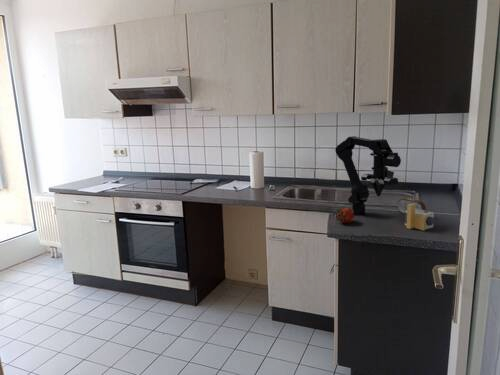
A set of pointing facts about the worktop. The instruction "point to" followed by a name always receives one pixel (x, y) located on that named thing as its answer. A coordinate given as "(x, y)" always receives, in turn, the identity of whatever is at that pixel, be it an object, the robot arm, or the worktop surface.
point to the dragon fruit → (345, 215)
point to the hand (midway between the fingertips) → (378, 196)
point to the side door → (415, 218)
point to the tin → (406, 201)
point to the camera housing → (423, 213)
